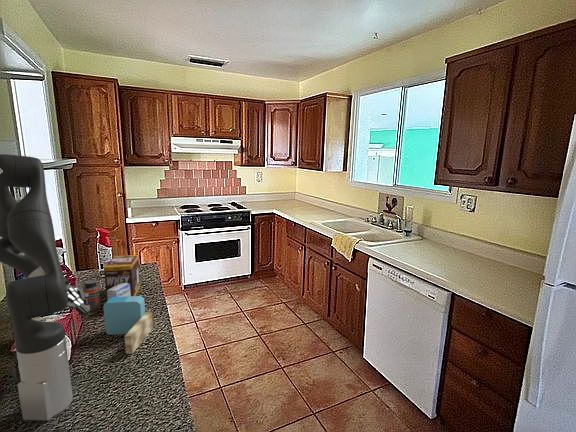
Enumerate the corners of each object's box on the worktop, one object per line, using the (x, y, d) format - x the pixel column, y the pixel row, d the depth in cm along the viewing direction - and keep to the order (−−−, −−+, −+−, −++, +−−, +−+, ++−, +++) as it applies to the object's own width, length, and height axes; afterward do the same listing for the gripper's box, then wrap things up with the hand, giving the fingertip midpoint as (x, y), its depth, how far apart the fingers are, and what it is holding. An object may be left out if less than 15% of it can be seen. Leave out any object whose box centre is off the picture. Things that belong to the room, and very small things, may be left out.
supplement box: (106, 302, 132) (103, 267, 129) (116, 287, 146) (113, 255, 144) (133, 300, 134) (130, 265, 131) (140, 286, 149) (138, 254, 146)
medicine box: (118, 311, 125) (116, 291, 123) (108, 310, 125) (106, 290, 124) (131, 302, 132) (130, 283, 130) (122, 301, 133) (120, 282, 131)
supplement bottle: (89, 313, 123) (86, 285, 121) (80, 309, 126) (77, 282, 124) (104, 306, 128) (102, 280, 126) (95, 303, 131) (92, 277, 129)
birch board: (132, 353, 99) (131, 335, 97) (125, 353, 99) (124, 335, 97) (154, 326, 114) (153, 310, 113) (148, 326, 114) (147, 310, 113)
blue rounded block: (146, 326, 114) (144, 295, 112) (142, 333, 110) (140, 301, 107) (111, 328, 113) (108, 296, 110) (105, 335, 108) (102, 302, 106)
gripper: (40, 280, 101) (82, 316, 104) (68, 266, 114) (105, 298, 117) (26, 295, 102) (68, 330, 105) (55, 279, 115) (92, 311, 118)
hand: (87, 313), depth 111 cm, fingers closed
